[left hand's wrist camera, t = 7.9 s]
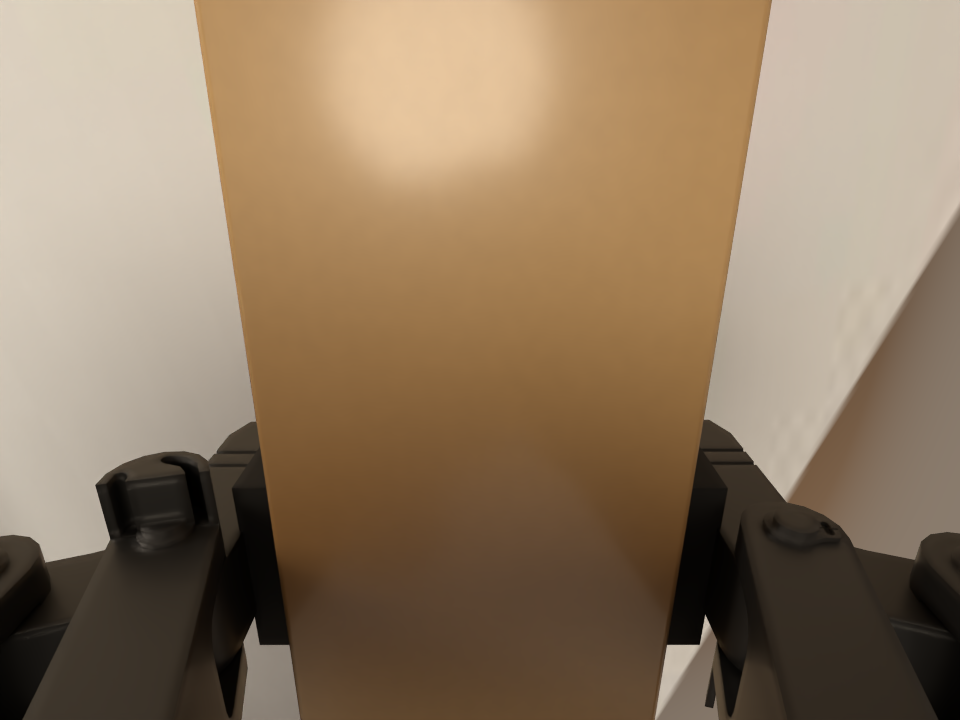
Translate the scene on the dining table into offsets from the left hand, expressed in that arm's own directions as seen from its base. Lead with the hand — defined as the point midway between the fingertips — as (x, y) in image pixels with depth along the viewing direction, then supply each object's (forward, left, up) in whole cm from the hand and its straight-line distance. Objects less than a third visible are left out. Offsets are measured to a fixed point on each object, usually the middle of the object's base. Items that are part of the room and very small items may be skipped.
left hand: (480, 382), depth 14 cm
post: (+29, +6, -1) cm, 30 cm away
